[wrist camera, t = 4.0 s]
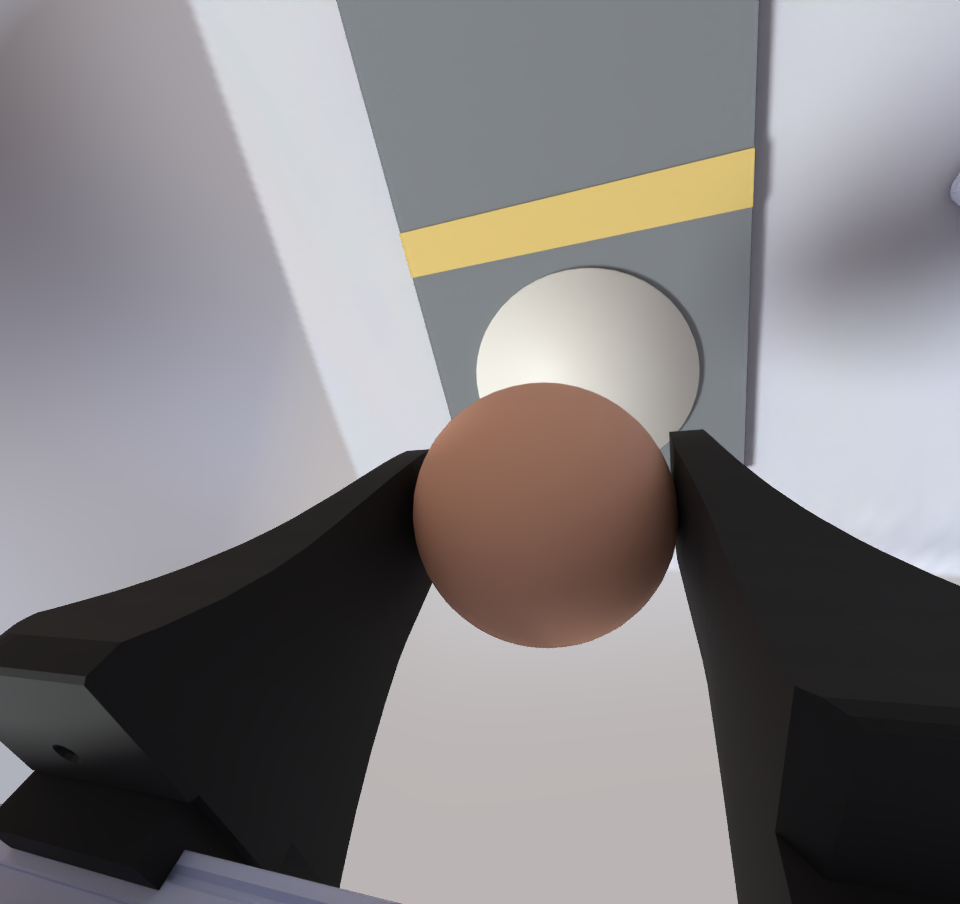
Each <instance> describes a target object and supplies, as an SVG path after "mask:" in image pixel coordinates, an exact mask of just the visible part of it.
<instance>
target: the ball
mask: <svg viewBox="0 0 960 904" xmlns="http://www.w3.org/2000/svg"><path fill="white" fill-rule="evenodd" d="M413 525H414V533H415V539H416V544H417V548H418V551H419V555H420V557H421V560H422V562H423V565H424V567H425V569H426V572H427V574H428V576H429V578H430V579H431V581H432V583H433V584H434V586H435V587H436V589H437V590H438V592H439V593H440V594H441V596H442V597H443V598H444V599H445V601H446V602H447V603H448V604H449V605H450V606H451V607H452V608H453V609H454V610H455V611H456V612H457V613H458V614H459V615H461V616H462V617H463V618H464V619H466V620H467V621H468V622H470V623H471V624H472V625H474V626H475V627H477V628H478V629H480V630H482V631H483V632H485V633H487V634H489V635H491V636H494V637H496V638H498V639H501V640H504V641H507V642H510V643H514V644H517V645H523V646H527V647H536V648H537V647H538V648H556V647H566V646H572V645H578V644H582V643H585V642H589V641H592V640H594V639H596V638H599V637H601V636H603V635H605V634H607V633H610V632H611V631H613V630H615V629H617V628H618V627H620V626H622V625H623V624H624V623H625V622H626V621H628V620H629V619H630V618H631V617H633V616H634V615H635V614H636V613H637V612H639V611H640V610H641V609H642V607H643V606H644V605H645V604H646V603H647V602H648V601H649V599H650V598H651V596H652V595H653V594H654V593H655V591H656V590H657V588H658V587H659V585H660V584H661V582H662V580H663V578H664V576H665V574H666V571H667V569H668V567H669V564H670V562H671V560H672V557H673V553H674V549H675V544H676V539H677V533H678V505H677V495H676V490H675V486H674V483H673V479H672V476H671V473H670V469H669V467H668V465H667V462H666V460H665V458H664V456H663V454H662V452H661V451H660V449H659V447H658V446H657V444H656V443H655V441H654V440H653V439H652V437H651V436H650V434H649V433H648V432H647V431H646V429H645V428H644V427H643V426H642V425H641V424H640V423H639V422H638V421H637V420H636V419H635V418H634V417H632V416H631V415H630V414H629V413H628V412H626V411H625V410H624V409H623V408H621V407H620V406H618V405H617V404H615V403H614V402H612V401H610V400H609V399H607V398H605V397H603V396H601V395H599V394H597V393H594V392H592V391H589V390H586V389H583V388H580V387H576V386H571V385H566V384H561V383H547V382H542V383H527V384H522V385H516V386H512V387H508V388H505V389H502V390H499V391H495V392H493V393H491V394H489V395H487V396H484V397H482V398H480V399H479V400H477V401H476V402H474V403H473V404H471V405H470V406H468V407H467V408H465V409H464V410H462V411H461V412H460V413H459V414H458V415H457V416H455V417H454V418H453V419H452V420H451V421H450V422H449V423H448V425H447V426H446V427H445V428H444V429H443V431H442V432H441V433H440V434H439V435H438V437H437V438H436V439H435V441H434V443H433V444H432V446H431V448H430V449H429V451H428V453H427V455H426V457H425V459H424V461H423V464H422V466H421V469H420V472H419V475H418V479H417V483H416V488H415V492H414V504H413Z"/></svg>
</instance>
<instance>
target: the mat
mask: <svg viewBox="0 0 960 904" xmlns="http://www.w3.org/2000/svg"><path fill="white" fill-rule="evenodd" d="M336 1H337V5H338V8H339V12H340V16H341V19H342V23H343V27H344V30H345V34H346V37H347V41H348V45H349V48H350V52H351V56H352V59H353V63H354V67H355V70H356V74H357V78H358V81H359V85H360V88H361V92H362V96H363V99H364V103H365V107H366V110H367V114H368V118H369V121H370V125H371V128H372V132H373V136H374V139H375V143H376V147H377V150H378V154H379V158H380V161H381V165H382V169H383V172H384V176H385V179H386V183H387V187H388V190H389V194H390V198H391V201H392V205H393V209H394V212H395V216H396V220H397V223H398V227H399V230H400V234H399V235H400V238H401V242H402V246H403V249H404V253H405V256H406V260H407V264H408V267H409V271H410V275H411V278H413V281H414V285H415V289H416V292H417V296H418V300H419V303H420V307H421V311H422V314H423V318H424V321H425V325H426V329H427V332H428V336H429V340H430V343H431V347H432V351H433V354H434V358H435V361H436V365H437V369H438V372H439V376H440V380H441V383H442V387H443V391H444V394H445V398H446V402H447V405H448V409H449V412H450V416H451V420H452V419H453V418H454V417H455V416H457V415H458V414H459V413H460V412H461V411H462V410H464V409H465V408H467V407H468V406H470V405H471V404H473V403H474V402H476V401H477V400H479V399H480V397H479V392H478V387H477V374H476V368H477V358H478V353H479V349H480V345H481V342H482V339H483V337H484V334H485V332H486V330H487V328H488V326H489V324H490V323H491V321H492V319H493V318H494V317H495V315H496V314H497V312H498V311H499V310H500V308H501V307H502V306H503V305H504V304H505V303H506V302H507V301H508V300H509V299H510V298H511V297H512V296H513V295H515V294H516V293H517V292H518V291H520V290H521V289H522V288H524V287H525V286H527V285H529V284H530V283H532V282H534V281H536V280H537V279H540V278H542V277H545V276H547V275H549V274H552V273H556V272H560V271H563V270H567V269H575V268H604V269H611V270H616V271H620V272H623V273H627V274H630V275H632V276H635V277H637V278H639V279H641V280H643V281H646V282H647V283H649V284H650V285H652V286H653V287H655V288H656V289H658V290H659V291H660V292H662V293H663V294H664V295H665V296H666V297H667V298H668V299H670V300H671V301H672V303H673V304H674V305H675V306H676V307H677V309H678V310H679V311H680V312H681V314H682V315H683V317H684V319H685V320H686V322H687V324H688V325H689V328H690V330H691V332H692V335H693V337H694V340H695V343H696V347H697V351H698V357H699V367H700V371H699V384H698V389H697V394H696V398H695V401H694V403H693V406H692V409H691V411H690V413H689V415H688V417H687V418H686V420H685V422H684V424H683V425H682V426H681V428H680V429H679V431H686V430H700V429H704V430H705V431H706V432H707V433H708V434H709V435H711V436H712V437H713V438H714V439H715V440H716V441H717V442H718V443H720V444H721V445H722V446H723V447H724V448H725V449H726V450H727V451H728V452H730V453H731V454H732V455H733V456H734V457H735V458H736V459H738V460H739V461H740V462H741V463H742V464H744V447H745V416H746V384H747V353H748V322H749V291H750V260H751V228H752V207H753V191H754V161H755V148H754V135H755V103H756V72H757V41H758V10H759V0H336ZM660 451H661V452H662V454H663V456H664V458H665V460H666V462H667V465H668V467H669V469H670V443H669V442H668V443H667V444H666V445H664V446H663V447H662V448H661V449H660ZM670 473H671V472H670Z"/></svg>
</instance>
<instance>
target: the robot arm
mask: <svg viewBox="0 0 960 904" xmlns="http://www.w3.org/2000/svg"><path fill="white" fill-rule="evenodd" d="M950 194H951V199H952V200H953V201H954V202H955V203H956V204H958V205H959V206H960V174H959V175H958V176H957V177H956V179H955V180H954V182H953V183H952V186H951V190H950ZM669 443H670V472H671V476H672V479H673V483H674V486H675V490H676V495H677V505H678V533H677V539H676V544H675V545H676V553H677V560H678V564H679V568H680V572H681V576H682V580H683V584H684V588H685V592H686V596H687V600H688V604H689V608H690V612H691V616H692V620H693V624H694V628H695V632H696V636H697V640H698V644H699V648H700V652H701V656H702V659H703V664H704V669H705V674H706V679H707V683H708V691H709V697H710V704H711V711H712V717H713V724H714V730H715V738H716V745H717V752H718V759H719V766H720V773H721V780H722V787H723V794H724V802H725V808H726V816H727V823H728V831H729V838H730V846H731V853H732V861H733V868H734V876H735V883H736V891H737V899H738V904H960V586H958V585H956V584H954V583H951V582H949V581H947V580H944V579H942V578H939V577H937V576H935V575H932V574H930V573H928V572H926V571H924V570H921V569H919V568H917V567H915V566H913V565H911V564H908V563H906V562H904V561H902V560H900V559H898V558H895V557H893V556H891V555H889V554H887V553H885V552H882V551H880V550H878V549H876V548H874V547H872V546H870V545H869V544H867V543H865V542H863V541H861V540H859V539H857V538H855V537H853V536H851V535H849V534H848V533H846V532H844V531H842V530H841V529H839V528H837V527H835V526H833V525H832V524H830V523H828V522H826V521H824V520H823V519H821V518H819V517H817V516H816V515H814V514H813V513H811V512H809V511H808V510H806V509H804V508H803V507H801V506H800V505H798V504H797V503H795V502H794V501H792V500H791V499H789V498H788V497H786V496H785V495H783V494H782V493H780V492H779V491H777V490H776V489H775V488H773V487H772V486H770V485H769V484H768V483H766V482H765V481H764V480H762V479H761V478H760V477H759V476H757V475H756V474H755V473H753V472H752V471H751V470H750V469H748V468H747V467H746V466H745V465H744V464H742V463H741V462H740V461H739V460H738V459H736V458H735V457H734V456H733V455H732V454H731V453H730V452H728V451H727V450H726V449H725V448H724V447H723V446H722V445H721V444H720V443H718V442H717V441H716V440H715V439H714V438H713V437H712V436H711V435H709V434H708V433H707V432H706V431H705V430H704V429H700V430H686V431H673V432H669ZM428 451H429V449H428V450H414V451H406V452H404V453H402V454H399V455H397V456H396V457H394V458H392V459H390V460H388V461H387V462H385V463H383V464H382V465H380V466H378V467H377V468H375V469H373V470H372V471H370V472H369V473H367V474H366V475H364V476H362V477H361V478H359V479H358V480H356V481H355V482H353V483H351V484H350V485H348V486H347V487H345V488H343V489H342V490H340V491H339V492H337V493H335V494H334V495H332V496H330V497H329V498H327V499H325V500H324V501H322V502H320V503H318V504H317V505H315V506H313V507H312V508H310V509H308V510H307V511H305V512H303V513H301V514H300V515H298V516H296V517H295V518H293V519H291V520H289V521H287V522H285V523H283V524H282V525H280V526H278V527H276V528H274V529H272V530H270V531H268V532H266V533H264V534H262V535H260V536H258V537H256V538H254V539H251V540H249V541H247V542H245V543H243V544H241V545H239V546H236V547H234V548H231V549H229V550H227V551H224V552H222V553H219V554H217V555H214V556H212V557H210V558H207V559H205V560H202V561H200V562H198V563H195V564H193V565H190V566H188V567H185V568H182V569H180V570H177V571H174V572H172V573H169V574H166V575H163V576H160V577H158V578H155V579H152V580H149V581H145V582H143V583H139V584H136V585H133V586H130V587H127V588H124V589H121V590H118V591H115V592H111V593H108V594H104V595H100V596H97V597H94V598H90V599H86V600H83V601H79V602H76V603H72V604H68V605H65V606H61V607H57V608H54V609H50V610H46V611H42V612H38V613H36V614H33V615H31V616H29V617H27V618H25V619H23V620H22V621H20V622H18V623H16V624H15V625H13V626H12V627H11V628H10V629H8V630H7V631H5V632H4V633H3V634H2V635H0V741H1V742H2V743H3V744H4V745H5V746H7V747H8V748H9V749H10V750H11V751H12V752H13V753H14V754H15V755H16V756H18V757H19V758H20V759H21V760H22V761H23V762H25V764H26V765H27V766H29V767H30V768H31V769H32V770H35V771H34V772H33V773H32V774H31V775H30V776H29V777H28V778H27V779H26V780H25V781H24V782H23V783H22V784H21V786H20V787H19V788H18V789H17V790H16V791H15V792H14V793H13V794H12V795H11V796H10V797H9V798H8V799H7V800H6V801H5V802H4V803H3V804H0V904H400V903H397V902H392V901H388V900H384V899H380V898H376V897H372V896H368V895H364V894H360V893H356V892H352V891H348V890H344V889H340V882H341V877H342V872H343V868H344V864H345V859H346V854H347V850H348V845H349V841H350V836H351V832H352V827H353V823H354V818H355V814H356V809H357V805H358V801H359V797H360V794H361V790H362V786H363V782H364V778H365V773H366V770H367V766H368V762H369V758H370V754H371V750H372V747H373V743H374V740H375V736H376V733H377V730H378V726H379V723H380V719H381V716H382V712H383V709H384V705H385V702H386V699H387V696H388V692H389V689H390V686H391V683H392V680H393V677H394V674H395V671H396V667H397V664H398V661H399V659H400V655H401V653H402V651H403V648H404V646H405V643H406V641H407V638H408V636H409V634H410V632H411V630H412V627H413V625H414V623H415V620H416V618H417V616H418V614H419V612H420V609H421V607H422V605H423V602H424V600H425V598H426V596H427V593H428V591H429V589H430V587H431V584H432V581H431V579H430V578H429V576H428V574H427V572H426V569H425V567H424V565H423V562H422V560H421V557H420V555H419V551H418V548H417V544H416V539H415V533H414V525H413V504H414V492H415V488H416V483H417V479H418V475H419V472H420V469H421V466H422V464H423V461H424V459H425V457H426V455H427V453H428Z"/></svg>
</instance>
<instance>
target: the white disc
mask: <svg viewBox="0 0 960 904" xmlns="http://www.w3.org/2000/svg"><path fill="white" fill-rule="evenodd" d="M699 371H700V367H699V357H698V351H697V347H696V343H695V340H694V337H693V335H692V332H691V330H690V328H689V325H688V324H687V322H686V320H685V319H684V317H683V315H682V314H681V312H680V311H679V310H678V309H677V307H676V306H675V305H674V304H673V303H672V301H671V300H670V299H668V298H667V297H666V296H665V295H664V294H663V293H662V292H660V291H659V290H658V289H656V288H655V287H653V286H652V285H650V284H649V283H647V282H646V281H643V280H641V279H639V278H637V277H635V276H632V275H630V274H627V273H623V272H620V271H616V270H611V269H604V268H575V269H567V270H563V271H560V272H556V273H552V274H549V275H547V276H545V277H542V278H540V279H537V280H536V281H534V282H532V283H530V284H529V285H527V286H525V287H524V288H522V289H521V290H520V291H518V292H517V293H516V294H515V295H513V296H512V297H511V298H510V299H509V300H508V301H507V302H506V303H505V304H504V305H503V306H502V307H501V308H500V310H499V311H498V312H497V314H496V315H495V317H494V318H493V319H492V321H491V323H490V324H489V326H488V328H487V330H486V332H485V334H484V337H483V339H482V342H481V345H480V349H479V353H478V358H477V368H476V374H477V387H478V392H479V397H480V398H482V397H484V396H487V395H489V394H491V393H493V392H495V391H499V390H502V389H505V388H508V387H512V386H516V385H522V384H527V383H542V382H547V383H561V384H566V385H571V386H576V387H580V388H583V389H586V390H589V391H592V392H594V393H597V394H599V395H601V396H603V397H605V398H607V399H609V400H610V401H612V402H614V403H615V404H617V405H618V406H620V407H621V408H623V409H624V410H625V411H626V412H628V413H629V414H630V415H631V416H632V417H634V418H635V419H636V420H637V421H638V422H639V423H640V424H641V425H642V426H643V427H644V428H645V429H646V431H647V432H648V433H649V434H650V436H651V437H652V439H653V440H654V441H655V443H656V444H657V446H658V447H659V449H661V448H662V447H663V446H664V445H666V444H667V443H668V442H669V432H673V431H679V429H680V428H681V426H682V425H683V424H684V422H685V420H686V418H687V417H688V415H689V413H690V411H691V409H692V406H693V403H694V401H695V398H696V394H697V389H698V384H699Z"/></svg>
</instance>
